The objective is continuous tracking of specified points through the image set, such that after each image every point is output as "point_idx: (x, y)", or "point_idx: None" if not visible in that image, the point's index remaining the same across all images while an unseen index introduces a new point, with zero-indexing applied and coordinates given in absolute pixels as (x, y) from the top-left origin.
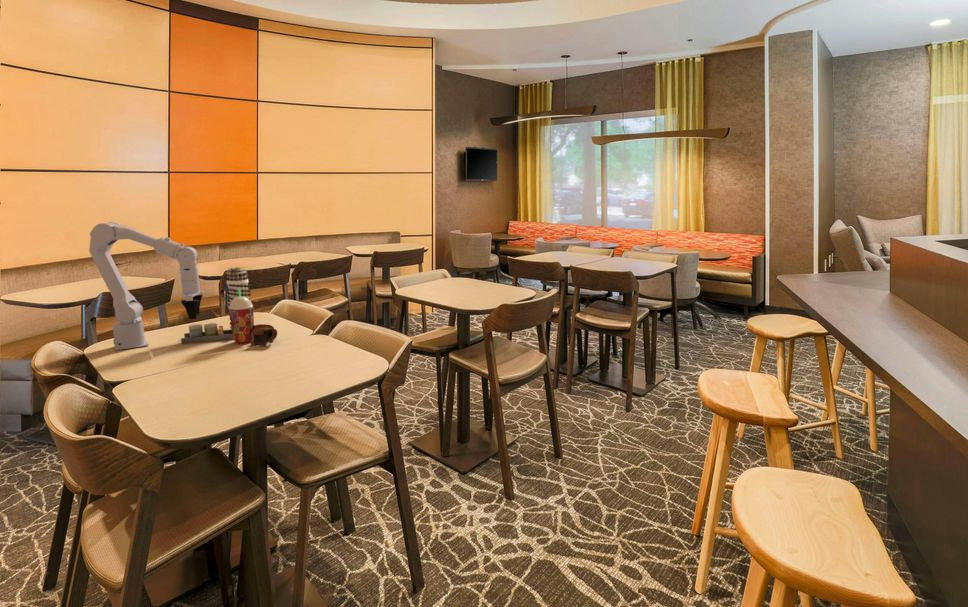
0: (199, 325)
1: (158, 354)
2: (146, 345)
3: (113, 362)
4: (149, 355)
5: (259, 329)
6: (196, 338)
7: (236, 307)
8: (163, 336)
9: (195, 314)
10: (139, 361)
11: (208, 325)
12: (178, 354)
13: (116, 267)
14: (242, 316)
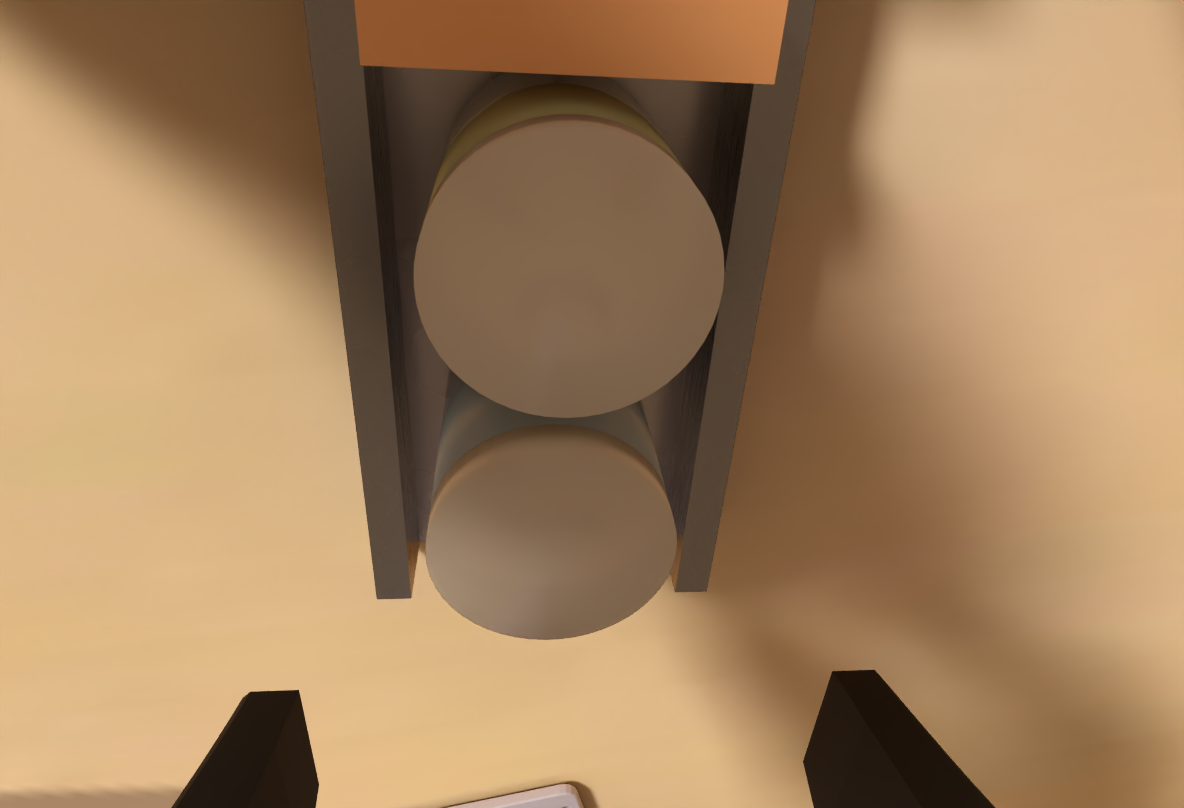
0: (558, 493)
1: (970, 654)
2: (574, 792)
3: None
4: (951, 706)
5: None
6: (735, 414)
7: None
8: (130, 745)
9: (957, 778)
10: (1107, 728)
11: (639, 324)
12: (1124, 499)
13: None
14: None
